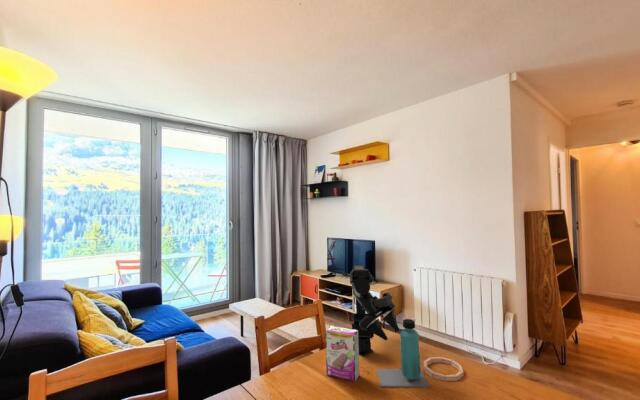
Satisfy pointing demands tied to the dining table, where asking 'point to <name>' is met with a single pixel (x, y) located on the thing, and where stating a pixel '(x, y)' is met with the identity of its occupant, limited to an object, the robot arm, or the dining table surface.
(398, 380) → the rubber mat
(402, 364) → the beverage bottle
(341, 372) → the candy bar box
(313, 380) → the dining table surface
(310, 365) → the dining table surface
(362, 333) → the robot arm
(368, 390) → the dining table surface
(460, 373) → the pale pink ring
